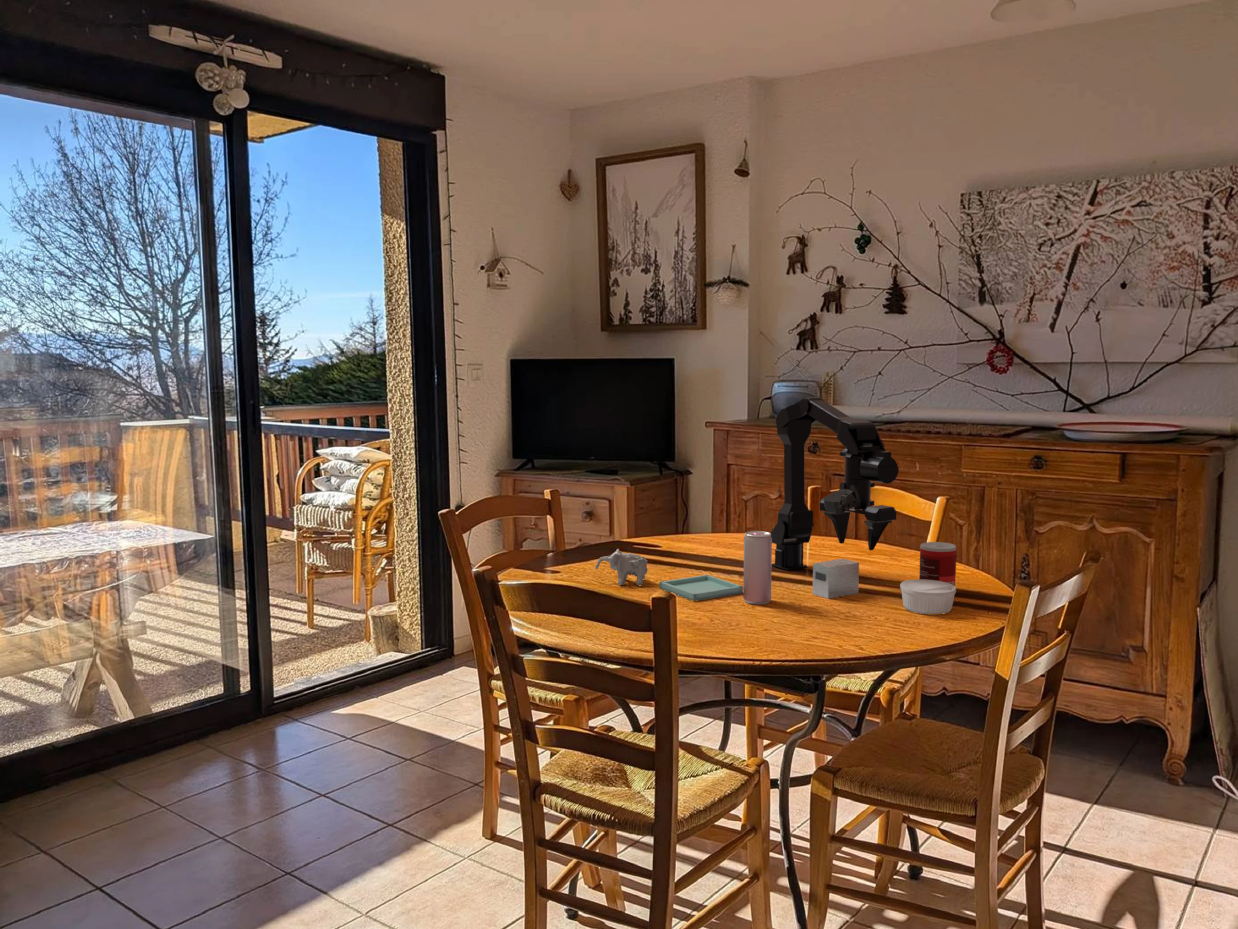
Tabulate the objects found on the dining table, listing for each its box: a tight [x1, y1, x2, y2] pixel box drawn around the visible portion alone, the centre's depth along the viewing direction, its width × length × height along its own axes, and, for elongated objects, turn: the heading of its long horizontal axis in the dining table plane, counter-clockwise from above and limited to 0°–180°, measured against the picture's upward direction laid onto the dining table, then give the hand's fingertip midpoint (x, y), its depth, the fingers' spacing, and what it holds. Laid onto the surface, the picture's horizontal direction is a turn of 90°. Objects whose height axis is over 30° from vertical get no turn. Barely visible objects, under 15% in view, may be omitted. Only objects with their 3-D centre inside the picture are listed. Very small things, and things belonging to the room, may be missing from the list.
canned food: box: [919, 541, 957, 587], centre depth 220 cm, size 8×8×11 cm
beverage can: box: [742, 530, 773, 606], centre depth 214 cm, size 6×6×15 cm
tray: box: [658, 574, 743, 602], centre depth 224 cm, size 14×14×2 cm
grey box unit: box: [812, 558, 860, 600], centre depth 220 cm, size 10×5×7 cm, turn 121°
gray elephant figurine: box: [595, 548, 648, 586], centre depth 231 cm, size 9×12×8 cm
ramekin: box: [899, 579, 957, 615], centre depth 207 cm, size 11×11×5 cm
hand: (856, 546), depth 223 cm, fingers open, 9 cm apart
